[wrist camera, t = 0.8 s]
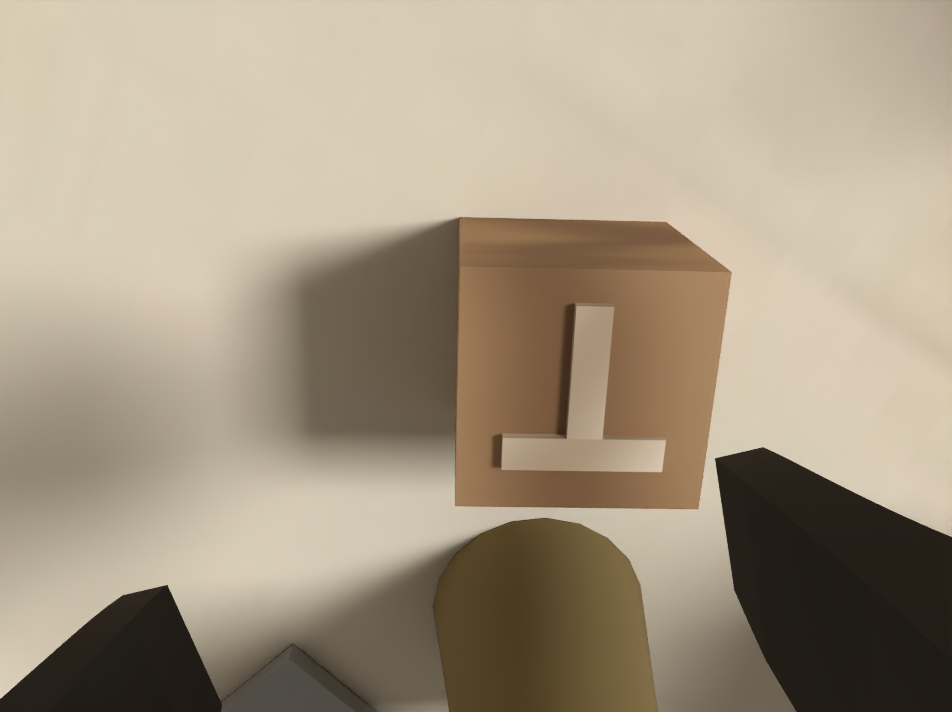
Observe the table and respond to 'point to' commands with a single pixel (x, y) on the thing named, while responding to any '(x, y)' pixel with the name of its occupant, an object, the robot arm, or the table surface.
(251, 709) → the mat
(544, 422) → the letter cube
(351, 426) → the table surface
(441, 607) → the cork
